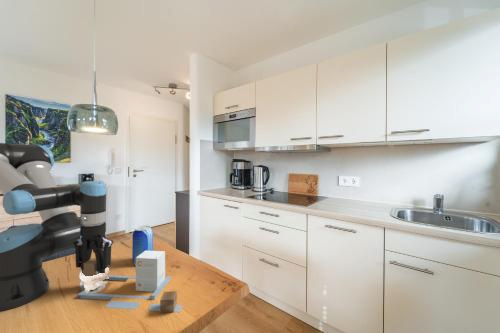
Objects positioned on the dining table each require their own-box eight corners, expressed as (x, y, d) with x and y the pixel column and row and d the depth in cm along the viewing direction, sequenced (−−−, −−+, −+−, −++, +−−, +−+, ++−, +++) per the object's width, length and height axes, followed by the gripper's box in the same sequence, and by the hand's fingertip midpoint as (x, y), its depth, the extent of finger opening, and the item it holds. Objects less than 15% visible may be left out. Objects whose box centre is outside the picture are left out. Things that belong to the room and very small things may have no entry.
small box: (165, 284, 79) (165, 250, 79) (157, 295, 73) (157, 258, 73) (145, 283, 80) (145, 249, 80) (134, 293, 74) (135, 257, 73)
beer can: (127, 265, 93) (128, 229, 93) (141, 256, 101) (142, 224, 101) (143, 267, 91) (144, 231, 91) (156, 259, 99) (156, 226, 99)
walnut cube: (160, 312, 63) (160, 300, 63) (163, 303, 67) (164, 291, 67) (173, 312, 64) (173, 299, 63) (176, 303, 68) (176, 291, 67)
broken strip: (104, 310, 65) (104, 307, 65) (111, 304, 68) (111, 300, 68) (179, 315, 64) (179, 312, 64) (182, 309, 67) (182, 305, 67)
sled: (73, 297, 71) (73, 269, 70) (101, 277, 83) (101, 253, 83) (154, 302, 69) (154, 273, 69) (170, 281, 81) (170, 256, 81)
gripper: (61, 225, 73) (61, 290, 73) (108, 227, 72) (107, 293, 72) (80, 219, 80) (80, 278, 81) (122, 221, 79) (122, 281, 80)
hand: (93, 285), depth 77 cm, fingers closed on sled, 4 cm apart
